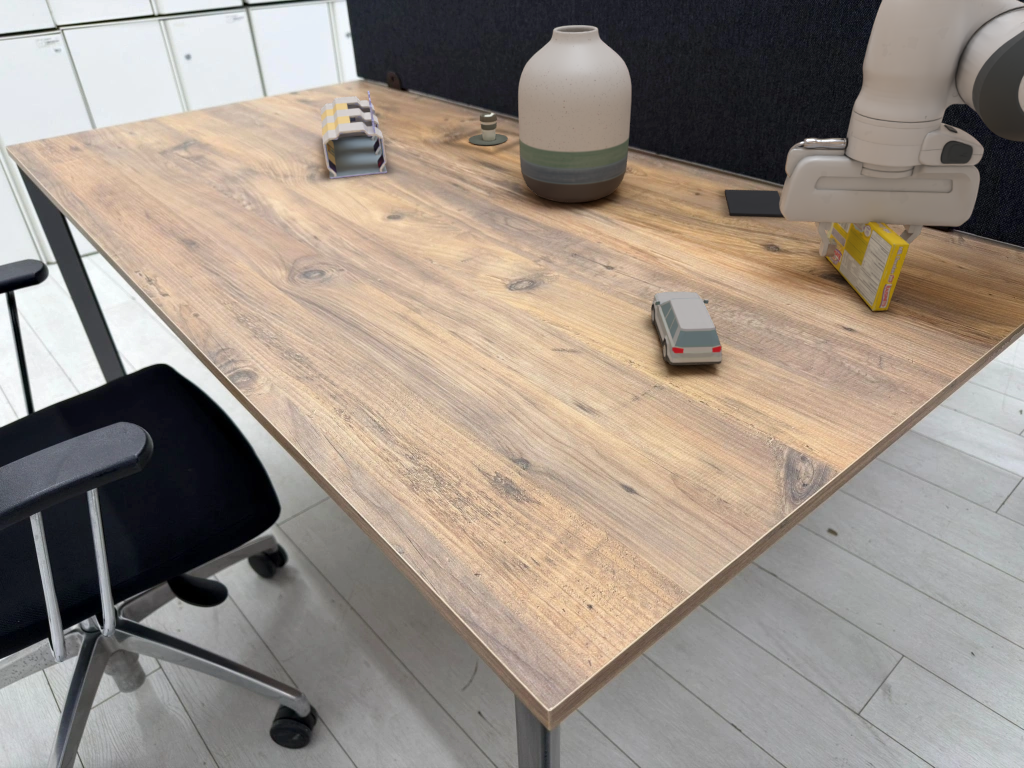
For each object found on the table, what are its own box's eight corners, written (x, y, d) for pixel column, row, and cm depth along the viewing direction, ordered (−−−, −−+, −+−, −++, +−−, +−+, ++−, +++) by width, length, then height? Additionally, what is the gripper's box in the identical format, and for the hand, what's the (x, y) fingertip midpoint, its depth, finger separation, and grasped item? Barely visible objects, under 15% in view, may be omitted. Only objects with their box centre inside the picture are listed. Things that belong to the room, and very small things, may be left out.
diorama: (388, 172, 128) (378, 95, 120) (329, 179, 126) (315, 100, 118) (377, 134, 148) (367, 66, 140) (326, 139, 146) (314, 70, 138)
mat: (777, 193, 113) (777, 190, 113) (786, 217, 105) (786, 214, 105) (724, 191, 115) (725, 189, 114) (729, 215, 106) (730, 212, 106)
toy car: (696, 312, 83) (701, 272, 80) (723, 374, 72) (730, 331, 70) (646, 313, 83) (649, 274, 80) (666, 376, 72) (670, 333, 70)
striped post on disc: (446, 142, 142) (444, 116, 139) (487, 128, 149) (486, 103, 146) (492, 153, 135) (491, 125, 132) (532, 137, 142) (532, 111, 140)
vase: (646, 189, 117) (659, 25, 103) (580, 220, 107) (584, 43, 93) (566, 168, 126) (568, 16, 113) (498, 195, 116) (491, 32, 103)
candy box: (890, 311, 82) (911, 243, 77) (871, 312, 82) (891, 244, 77) (836, 252, 95) (851, 191, 90) (820, 252, 95) (834, 191, 90)
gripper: (795, 146, 78) (772, 263, 86) (1001, 149, 75) (958, 271, 82) (786, 129, 83) (766, 242, 91) (979, 132, 80) (940, 248, 88)
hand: (859, 256), depth 87 cm, fingers open, 6 cm apart
